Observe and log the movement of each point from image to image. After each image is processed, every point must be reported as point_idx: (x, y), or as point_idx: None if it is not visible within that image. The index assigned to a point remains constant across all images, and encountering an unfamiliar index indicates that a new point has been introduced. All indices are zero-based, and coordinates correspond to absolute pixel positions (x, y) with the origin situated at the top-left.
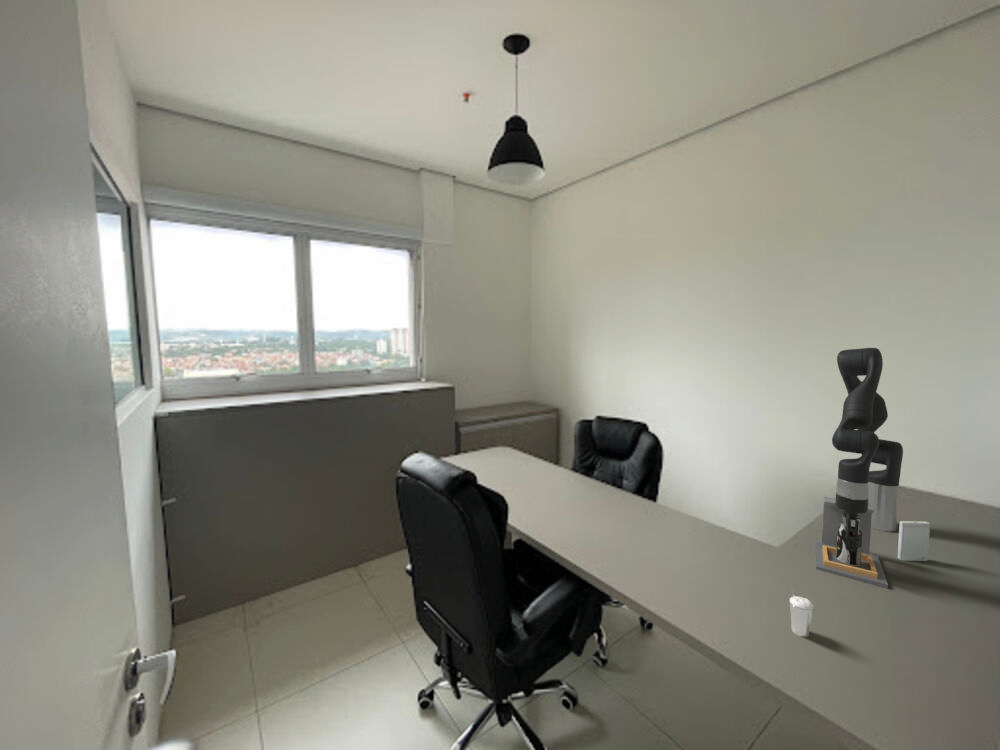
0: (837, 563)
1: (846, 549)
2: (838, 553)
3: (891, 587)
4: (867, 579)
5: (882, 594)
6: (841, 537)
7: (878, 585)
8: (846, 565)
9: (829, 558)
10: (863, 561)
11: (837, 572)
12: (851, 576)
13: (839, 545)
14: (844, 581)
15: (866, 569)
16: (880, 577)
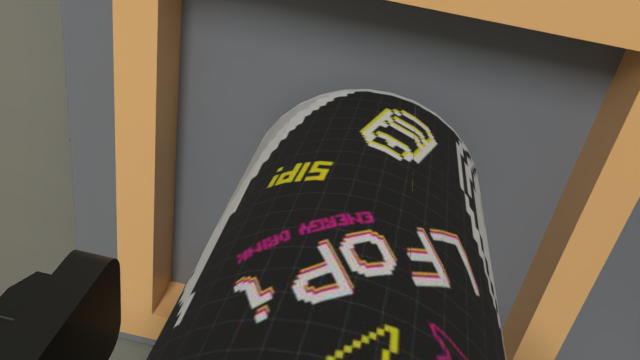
0: (135, 49)
1: (75, 254)
2: (308, 134)
3: None
4: (75, 226)
5: (3, 243)
6: (183, 345)
7: None
8: (137, 134)
9: (402, 12)
10: None
11: (65, 5)
12: (74, 118)
13: (263, 209)
14: (31, 34)
15: None
16: None
